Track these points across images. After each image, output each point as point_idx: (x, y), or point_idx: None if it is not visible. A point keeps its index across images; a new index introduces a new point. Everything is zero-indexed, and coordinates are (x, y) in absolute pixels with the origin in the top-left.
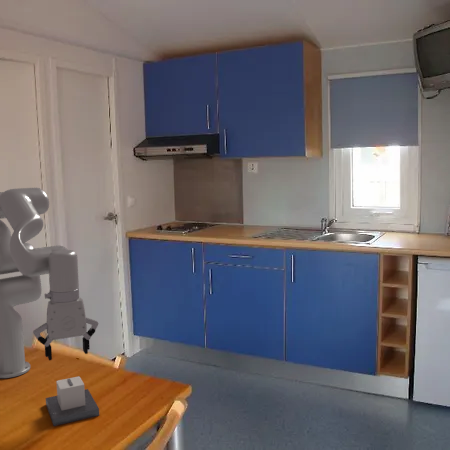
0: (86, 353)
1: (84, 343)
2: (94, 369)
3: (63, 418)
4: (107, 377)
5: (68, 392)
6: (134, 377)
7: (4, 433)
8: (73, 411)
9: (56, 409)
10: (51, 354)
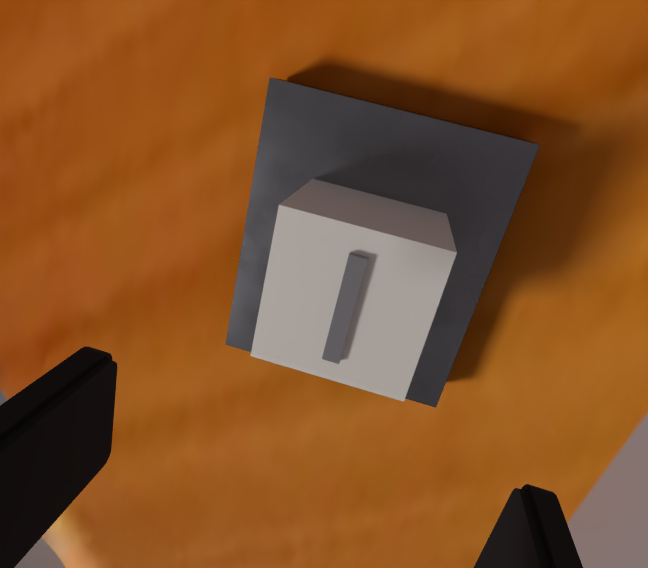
0: (100, 352)
1: (13, 458)
2: (125, 518)
3: (478, 129)
4: None
5: (399, 226)
6: (2, 339)
7: None
8: (401, 152)
9: (460, 248)
10: (538, 545)
